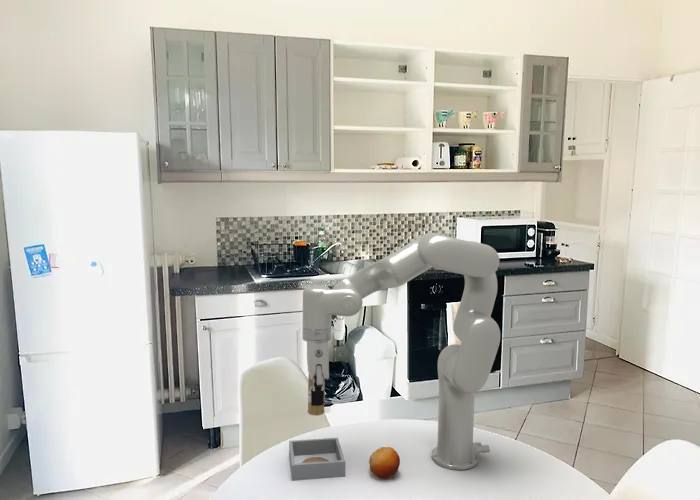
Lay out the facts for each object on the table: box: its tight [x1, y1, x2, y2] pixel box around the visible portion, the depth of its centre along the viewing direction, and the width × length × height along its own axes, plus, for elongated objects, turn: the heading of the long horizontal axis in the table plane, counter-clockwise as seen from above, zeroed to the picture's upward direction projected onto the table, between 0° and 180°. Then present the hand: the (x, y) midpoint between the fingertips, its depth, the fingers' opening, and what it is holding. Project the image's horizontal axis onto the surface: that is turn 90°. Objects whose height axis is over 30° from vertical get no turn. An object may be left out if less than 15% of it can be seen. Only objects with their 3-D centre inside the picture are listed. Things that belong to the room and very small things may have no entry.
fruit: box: [368, 446, 401, 480], centre depth 135 cm, size 8×8×8 cm
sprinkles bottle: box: [307, 375, 326, 417], centre depth 137 cm, size 5×5×13 cm
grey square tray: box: [288, 437, 346, 481], centre depth 139 cm, size 14×14×4 cm
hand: (316, 400), depth 138 cm, fingers closed on sprinkles bottle, 4 cm apart
